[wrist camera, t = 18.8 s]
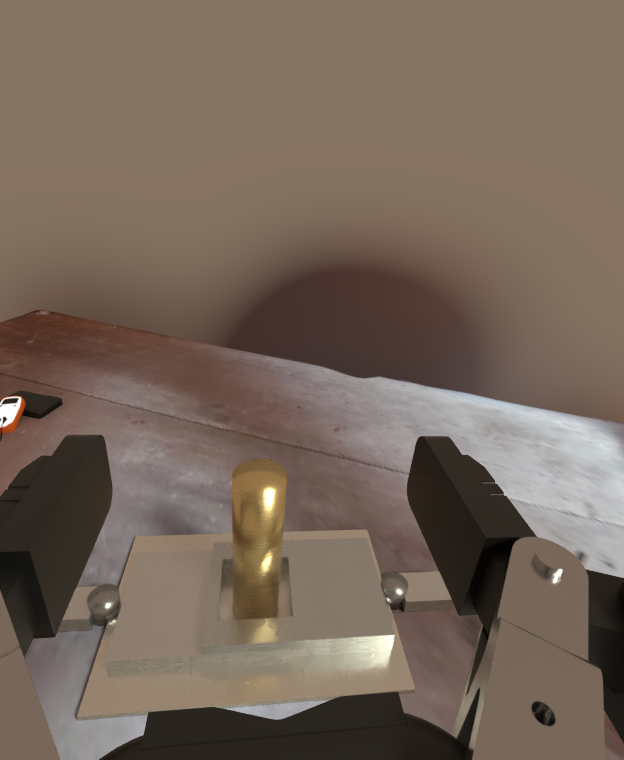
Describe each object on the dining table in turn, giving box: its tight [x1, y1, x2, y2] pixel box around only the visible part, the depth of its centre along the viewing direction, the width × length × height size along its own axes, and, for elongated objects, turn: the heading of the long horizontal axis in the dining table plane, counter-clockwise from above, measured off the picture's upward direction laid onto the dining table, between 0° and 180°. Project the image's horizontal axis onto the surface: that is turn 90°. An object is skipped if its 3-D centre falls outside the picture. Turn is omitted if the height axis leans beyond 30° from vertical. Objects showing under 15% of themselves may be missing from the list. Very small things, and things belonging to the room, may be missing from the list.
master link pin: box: [232, 459, 287, 620], centre depth 35 cm, size 4×4×14 cm
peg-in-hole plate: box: [57, 530, 454, 720], centre depth 38 cm, size 36×16×2 cm, turn 96°
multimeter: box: [0, 391, 62, 441], centre depth 58 cm, size 18×12×3 cm, turn 164°
